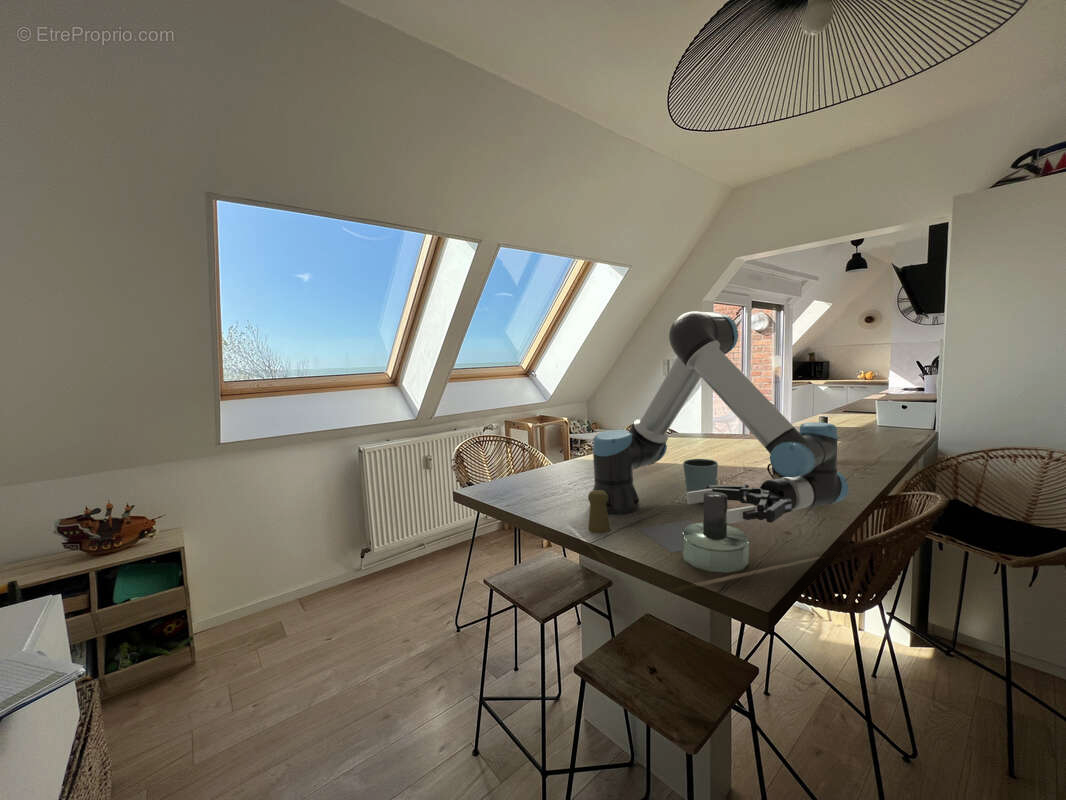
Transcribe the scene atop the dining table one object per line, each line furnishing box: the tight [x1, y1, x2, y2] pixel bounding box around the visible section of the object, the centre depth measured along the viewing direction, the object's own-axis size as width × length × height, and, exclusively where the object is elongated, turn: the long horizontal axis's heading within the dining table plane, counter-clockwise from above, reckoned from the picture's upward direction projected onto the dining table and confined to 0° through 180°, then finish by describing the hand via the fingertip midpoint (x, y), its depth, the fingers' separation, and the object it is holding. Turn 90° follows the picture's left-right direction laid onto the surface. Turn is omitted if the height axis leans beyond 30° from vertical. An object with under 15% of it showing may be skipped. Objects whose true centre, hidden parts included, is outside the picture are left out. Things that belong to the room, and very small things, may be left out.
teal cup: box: [682, 458, 719, 493], centre depth 141 cm, size 10×10×12 cm
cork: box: [587, 489, 611, 534], centre depth 120 cm, size 6×6×11 cm
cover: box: [682, 492, 750, 574], centre depth 99 cm, size 13×13×15 cm
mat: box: [636, 519, 696, 554], centre depth 114 cm, size 16×16×1 cm
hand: (706, 507), depth 98 cm, fingers open, 13 cm apart
